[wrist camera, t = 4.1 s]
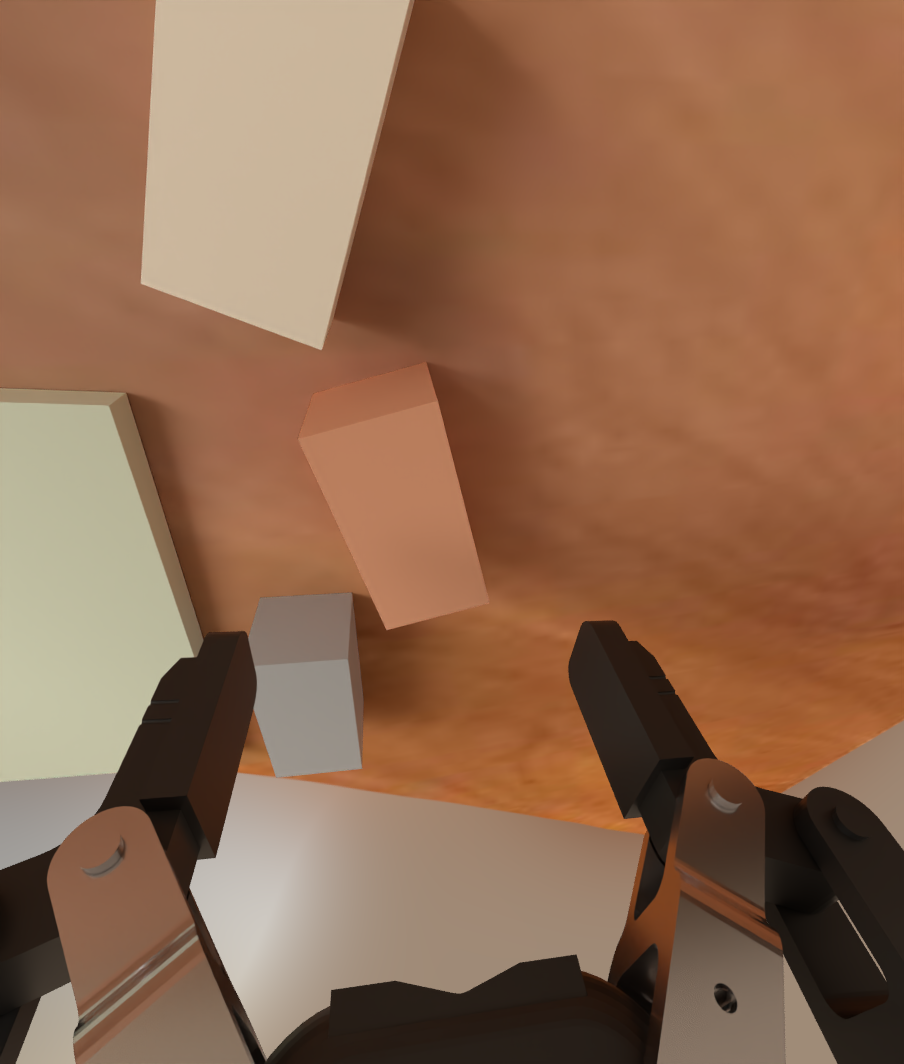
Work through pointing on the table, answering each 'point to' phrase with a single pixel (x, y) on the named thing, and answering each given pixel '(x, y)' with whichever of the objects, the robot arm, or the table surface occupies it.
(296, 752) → the slate brick
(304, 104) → the cream brick
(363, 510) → the terracotta brick
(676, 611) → the table surface
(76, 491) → the sage baseplate
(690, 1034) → the robot arm
